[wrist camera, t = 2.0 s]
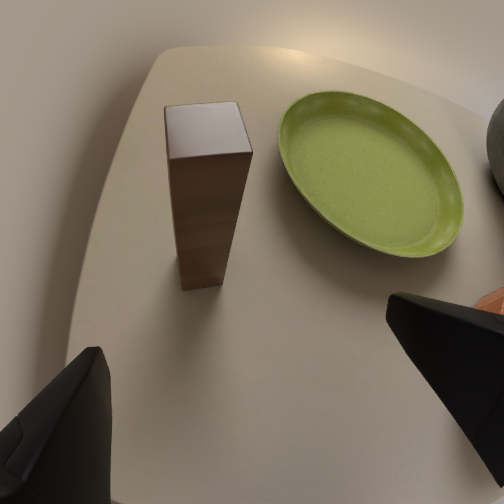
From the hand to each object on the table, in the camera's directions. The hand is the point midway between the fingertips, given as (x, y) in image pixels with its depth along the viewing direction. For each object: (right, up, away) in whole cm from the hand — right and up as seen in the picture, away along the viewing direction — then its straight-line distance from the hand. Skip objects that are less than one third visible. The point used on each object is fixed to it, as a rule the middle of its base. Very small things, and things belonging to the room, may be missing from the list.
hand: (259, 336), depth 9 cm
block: (-4, +1, +15) cm, 15 cm away
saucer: (+12, +10, +22) cm, 27 cm away
